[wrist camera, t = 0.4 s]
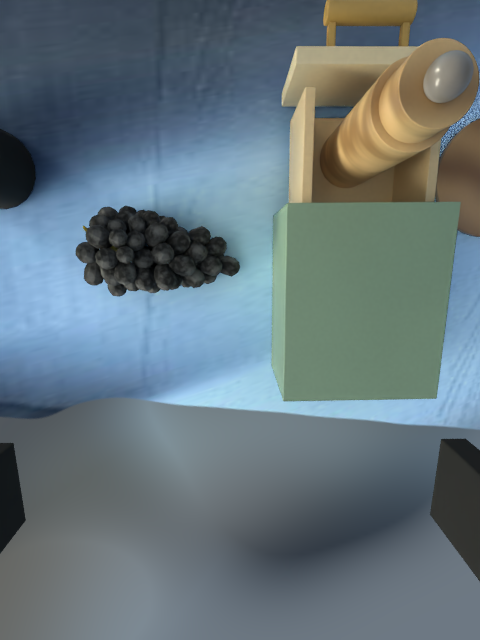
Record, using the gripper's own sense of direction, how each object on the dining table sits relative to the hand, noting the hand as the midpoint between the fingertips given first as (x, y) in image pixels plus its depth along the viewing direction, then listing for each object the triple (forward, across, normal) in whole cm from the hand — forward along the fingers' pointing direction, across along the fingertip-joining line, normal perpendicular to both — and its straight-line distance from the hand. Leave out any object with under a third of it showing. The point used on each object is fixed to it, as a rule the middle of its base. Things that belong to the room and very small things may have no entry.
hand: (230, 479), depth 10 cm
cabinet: (+27, +11, +2) cm, 30 cm away
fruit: (+28, -7, +6) cm, 29 cm away
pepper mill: (+25, +11, +16) cm, 32 cm away
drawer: (+26, +11, +16) cm, 33 cm away
